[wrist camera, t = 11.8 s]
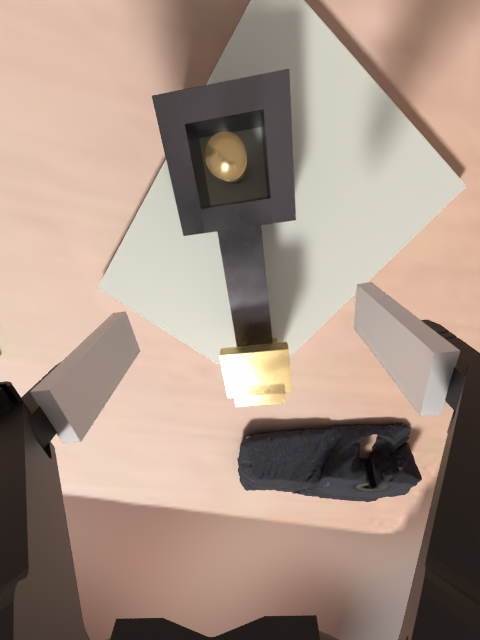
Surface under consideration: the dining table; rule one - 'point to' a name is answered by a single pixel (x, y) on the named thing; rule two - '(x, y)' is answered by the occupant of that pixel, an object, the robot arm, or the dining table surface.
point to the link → (242, 216)
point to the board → (310, 194)
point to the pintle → (227, 157)
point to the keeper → (257, 373)
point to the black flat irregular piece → (330, 462)
